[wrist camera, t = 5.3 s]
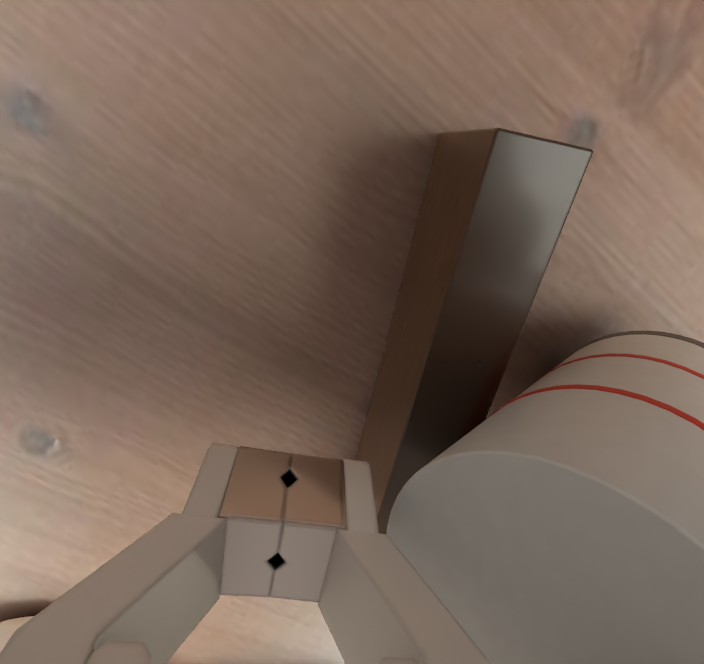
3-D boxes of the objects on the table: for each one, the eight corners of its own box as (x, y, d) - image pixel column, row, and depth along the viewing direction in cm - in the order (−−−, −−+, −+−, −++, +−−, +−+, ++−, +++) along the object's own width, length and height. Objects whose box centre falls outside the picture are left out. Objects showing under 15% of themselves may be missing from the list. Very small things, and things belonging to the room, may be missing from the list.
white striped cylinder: (387, 264, 13) (559, 697, 3) (701, 322, 14) (1627, 780, 4) (351, 416, 16) (372, 946, 5) (621, 456, 17) (1069, 952, 6)
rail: (439, 132, 11) (497, 126, 7) (506, 147, 12) (594, 150, 8) (346, 497, 17) (351, 602, 13) (392, 502, 17) (410, 606, 13)
